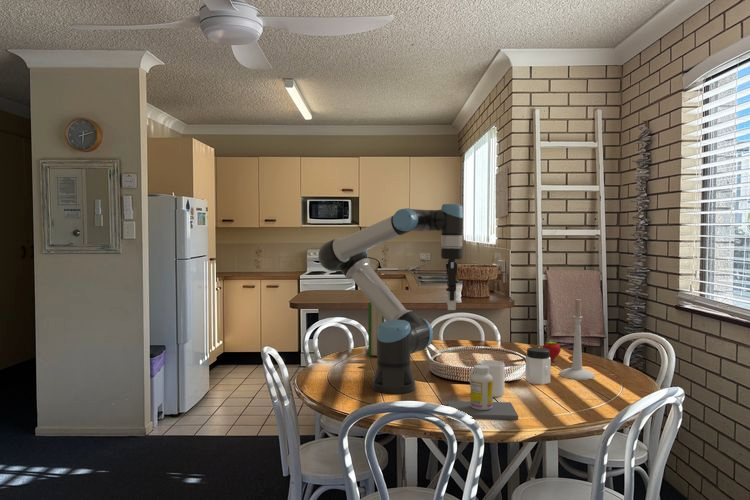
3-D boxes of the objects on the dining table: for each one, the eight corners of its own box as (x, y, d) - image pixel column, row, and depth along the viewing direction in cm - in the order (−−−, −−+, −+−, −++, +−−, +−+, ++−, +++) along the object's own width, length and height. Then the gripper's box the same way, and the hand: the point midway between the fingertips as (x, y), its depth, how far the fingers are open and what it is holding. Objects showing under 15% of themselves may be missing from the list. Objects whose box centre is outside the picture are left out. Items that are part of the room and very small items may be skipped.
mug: (470, 388, 201) (470, 358, 201) (504, 391, 198) (505, 360, 197) (467, 395, 193) (467, 364, 192) (503, 398, 190) (503, 366, 189)
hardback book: (383, 358, 248) (384, 303, 247) (368, 356, 251) (368, 302, 250) (397, 350, 265) (398, 298, 264) (383, 349, 267) (383, 298, 267)
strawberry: (561, 363, 240) (562, 339, 240) (543, 362, 241) (543, 338, 241) (559, 359, 246) (559, 336, 246) (541, 359, 247) (541, 336, 247)
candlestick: (570, 380, 212) (571, 300, 211) (553, 372, 225) (554, 296, 224) (601, 379, 215) (603, 299, 213) (582, 370, 227) (584, 295, 226)
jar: (538, 386, 205) (538, 352, 204) (521, 380, 212) (521, 348, 211) (554, 382, 210) (555, 350, 209) (537, 377, 217) (537, 346, 216)
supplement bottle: (489, 404, 179) (489, 363, 179) (494, 410, 173) (495, 368, 172) (468, 404, 179) (468, 363, 178) (473, 411, 172) (473, 369, 172)
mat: (450, 417, 170) (450, 413, 170) (447, 404, 183) (447, 400, 183) (518, 419, 168) (518, 415, 168) (510, 406, 181) (510, 402, 181)
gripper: (464, 248, 189) (463, 312, 190) (461, 246, 214) (460, 302, 215) (441, 248, 190) (440, 312, 191) (440, 246, 215) (440, 302, 215)
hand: (451, 307), depth 203 cm, fingers open, 13 cm apart
